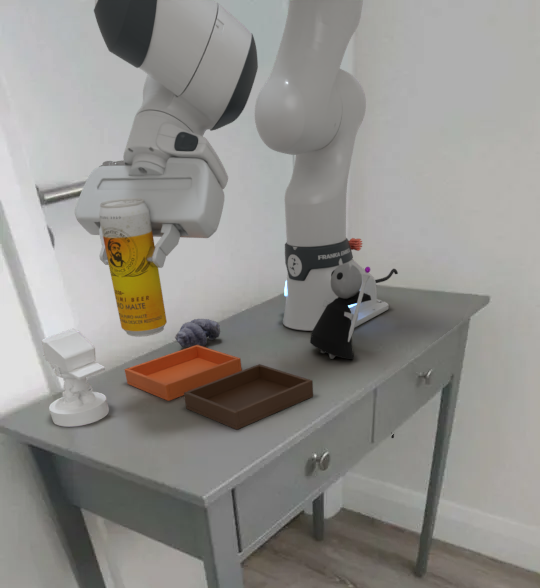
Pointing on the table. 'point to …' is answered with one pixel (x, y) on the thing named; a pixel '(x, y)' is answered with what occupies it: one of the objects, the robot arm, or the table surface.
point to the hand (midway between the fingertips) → (130, 263)
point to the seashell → (197, 332)
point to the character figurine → (74, 379)
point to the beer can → (132, 266)
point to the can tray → (182, 371)
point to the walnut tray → (248, 395)
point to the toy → (341, 312)
